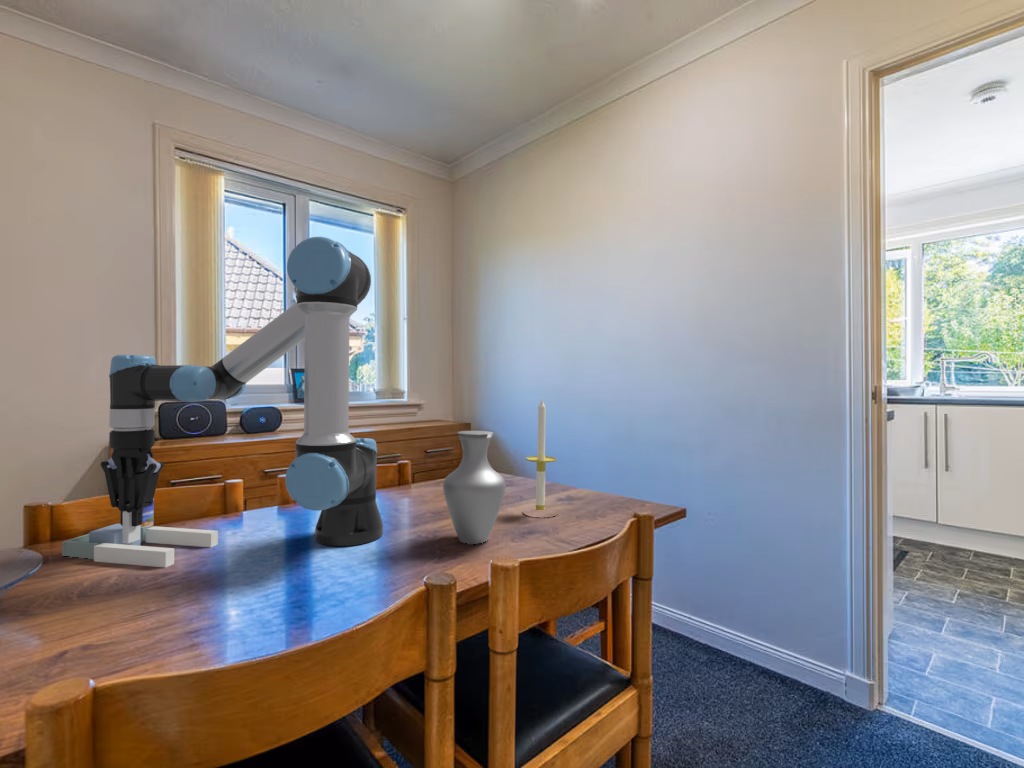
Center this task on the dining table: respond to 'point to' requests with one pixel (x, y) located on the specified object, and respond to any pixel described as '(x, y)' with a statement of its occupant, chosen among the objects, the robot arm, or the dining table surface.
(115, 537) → the block
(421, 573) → the dining table surface
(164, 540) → the chute
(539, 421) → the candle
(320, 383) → the robot arm
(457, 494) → the vase
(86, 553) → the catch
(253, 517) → the dining table surface
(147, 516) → the pill bottle
